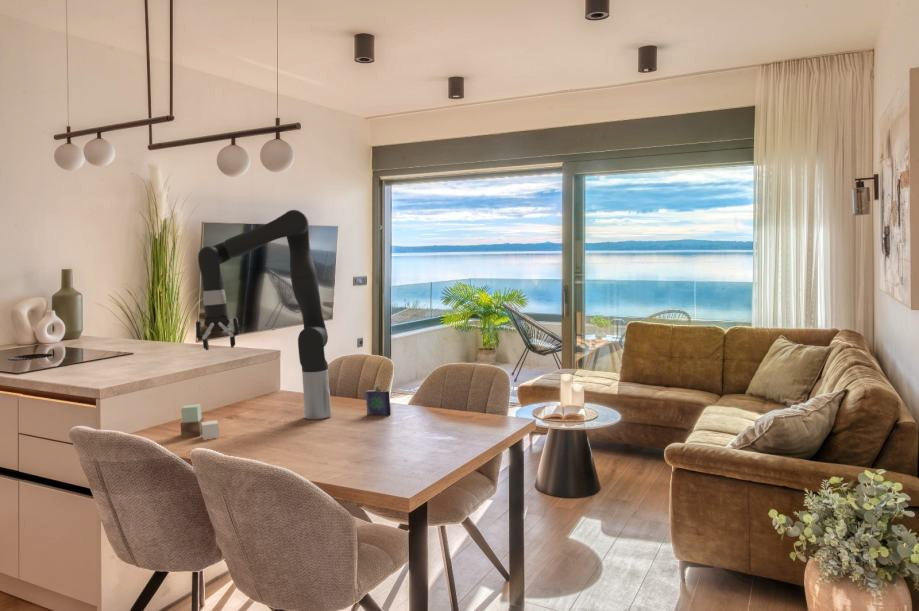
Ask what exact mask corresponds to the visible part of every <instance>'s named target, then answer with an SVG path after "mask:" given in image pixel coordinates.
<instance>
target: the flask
mask: <svg viewBox="0 0 919 611" xmlns="http://www.w3.org/2000/svg"><path fill="white" fill-rule="evenodd" d="M374 388H375V389H370V390H369V389H368V390H366V391H365V399H366V402H365V403H366V415H367V416H373V417H374V416H376V417H378V416H383V417H390V416H391V415H392V412H391V403H390V402H391V401H390V400H391V399H390V391H389V390H388V389H387V390H386V389H382V388H381V387H380V385H376V386H374Z"/></svg>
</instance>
